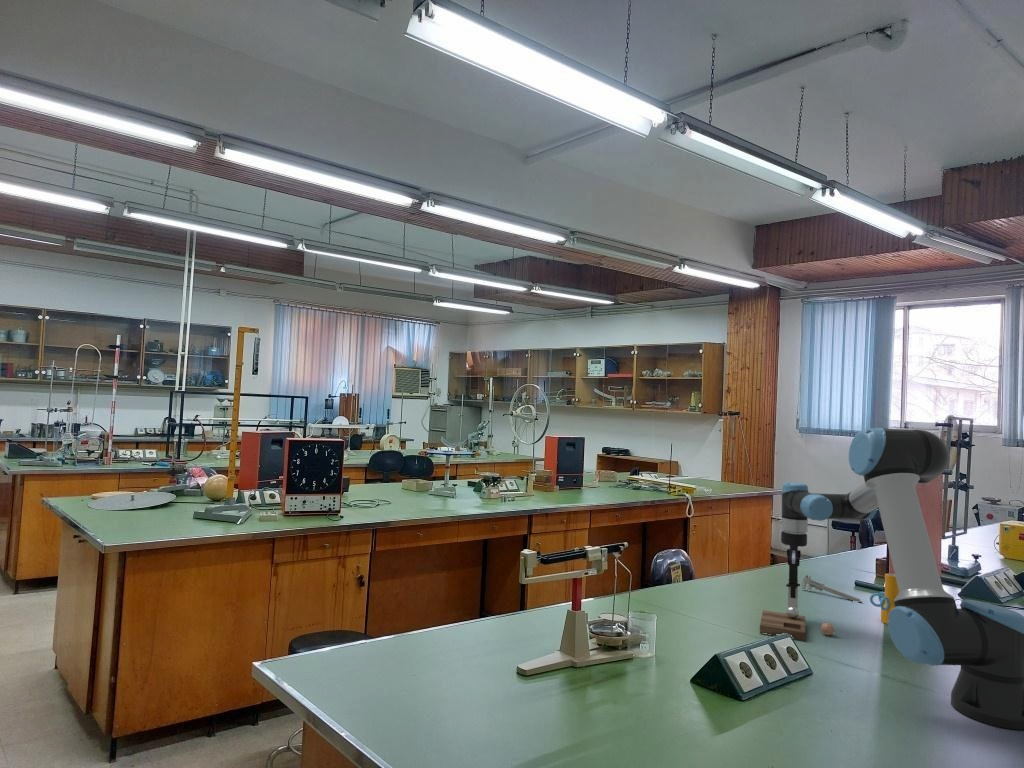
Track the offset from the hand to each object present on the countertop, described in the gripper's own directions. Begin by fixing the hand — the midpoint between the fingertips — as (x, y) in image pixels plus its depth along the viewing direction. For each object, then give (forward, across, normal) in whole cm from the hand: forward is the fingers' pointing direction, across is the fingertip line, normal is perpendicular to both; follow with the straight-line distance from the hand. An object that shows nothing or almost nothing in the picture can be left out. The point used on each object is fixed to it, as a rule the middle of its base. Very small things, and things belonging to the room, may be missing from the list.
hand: (792, 607), depth 199 cm
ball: (+2, +10, +10) cm, 14 cm away
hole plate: (+4, +12, -2) cm, 13 cm away
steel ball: (0, +8, 0) cm, 8 cm away
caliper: (+4, -38, +13) cm, 40 cm away
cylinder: (+4, -14, +28) cm, 32 cm away
